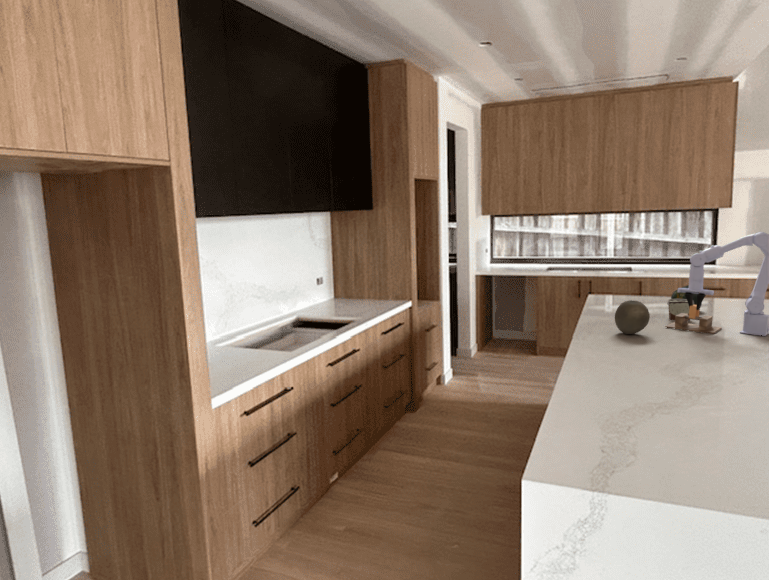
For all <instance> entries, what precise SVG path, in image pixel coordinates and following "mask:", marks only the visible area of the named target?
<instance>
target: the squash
mask: <svg viewBox="0 0 769 580" xmlns="http://www.w3.org/2000/svg"><path fill="white" fill-rule="evenodd" d="M681 288H689V284H688V285H685V286H682V287H681ZM697 293H700V292H697ZM697 295H699V294H694V295H693V302H694V305H697ZM670 299H686V297H685V293H683V292H678V288H677V289H676V290H674V291H673V292H672V294H671V297H670ZM702 303H703V302H702ZM702 303H701V305H700V308H701V307H702V305H703V304H702Z"/></svg>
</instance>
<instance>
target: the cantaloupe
mask: <svg viewBox="0 0 769 580" xmlns="http://www.w3.org/2000/svg"><path fill="white" fill-rule="evenodd" d="M650 315H651V314H650V312H649V309H648V307H647V306H646V305H645V304H644V303H643V302H641V301H638V300H633V299H631V300H630V299H629V300H626V301H625V300H624V302H622V303H620V305H618V307H617V308H616V310H615V313H614V324H615V326H616V327H617V329H618V330H619V331H620V332H621V333H623V334H625V335H636V334H637V333H639V332H641V331H643V330H644V329H645V328H647V325H648V324H649V322H650V318H651V317H650Z"/></svg>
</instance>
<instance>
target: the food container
mask: <svg viewBox="0 0 769 580" xmlns="http://www.w3.org/2000/svg"><path fill="white" fill-rule="evenodd" d="M666 305H668V319H670V320H675V316H676V315H678V314H681V313H686V314H688V316H689V304H688V301H687V299H671V298H669V299H668V300H667V302H666ZM693 305H694V302H693ZM670 320H669V321H670ZM688 320H690V321H691V319H688Z"/></svg>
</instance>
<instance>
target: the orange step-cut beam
mask: <svg viewBox="0 0 769 580" xmlns="http://www.w3.org/2000/svg"><path fill="white" fill-rule="evenodd" d="M700 309H701V308H700ZM700 309H699V310H697V305H692V306H690V308H689V318H691V319H690V320H693V319H696V316H697V317H700Z"/></svg>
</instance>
